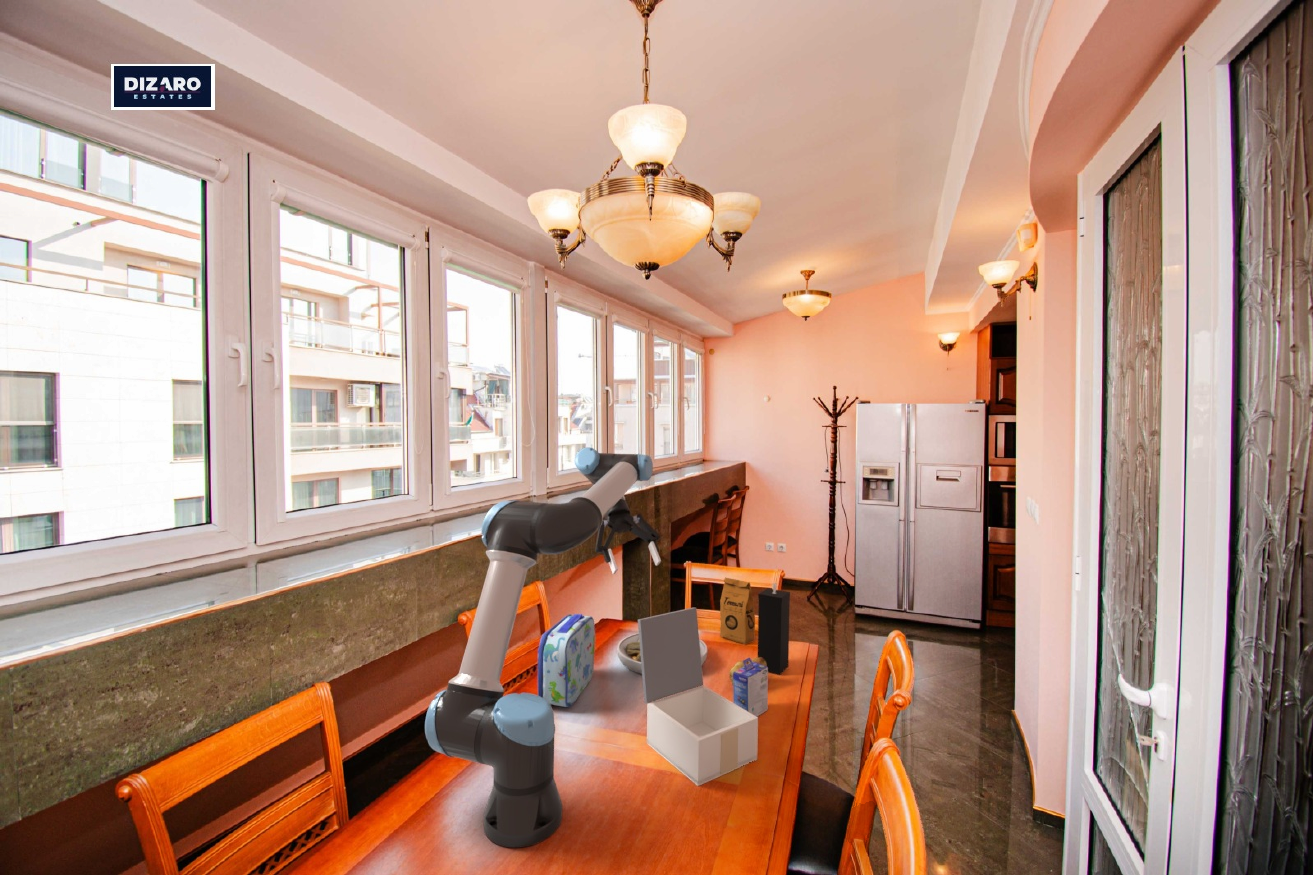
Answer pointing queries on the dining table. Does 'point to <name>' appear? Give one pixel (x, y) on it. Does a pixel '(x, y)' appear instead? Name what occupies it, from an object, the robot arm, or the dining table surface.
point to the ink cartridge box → (751, 687)
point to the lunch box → (566, 659)
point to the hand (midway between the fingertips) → (637, 567)
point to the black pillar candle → (774, 629)
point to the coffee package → (737, 611)
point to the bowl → (631, 652)
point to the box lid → (670, 654)
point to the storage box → (702, 733)
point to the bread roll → (740, 664)
